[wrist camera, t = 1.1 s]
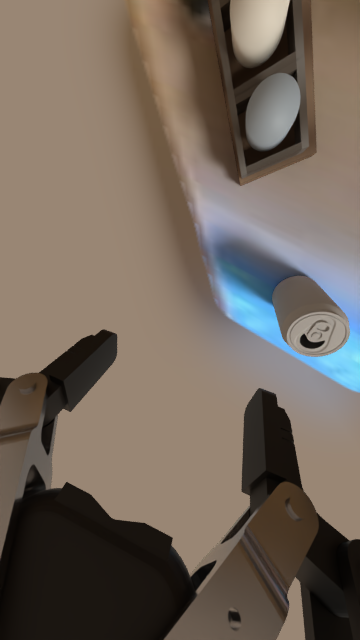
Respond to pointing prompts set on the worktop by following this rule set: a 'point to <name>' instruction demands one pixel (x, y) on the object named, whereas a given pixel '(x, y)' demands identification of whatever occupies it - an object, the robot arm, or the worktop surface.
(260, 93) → the button slate
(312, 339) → the beverage can
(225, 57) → the wooden compartment tray
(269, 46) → the button cream
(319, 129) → the worktop surface
